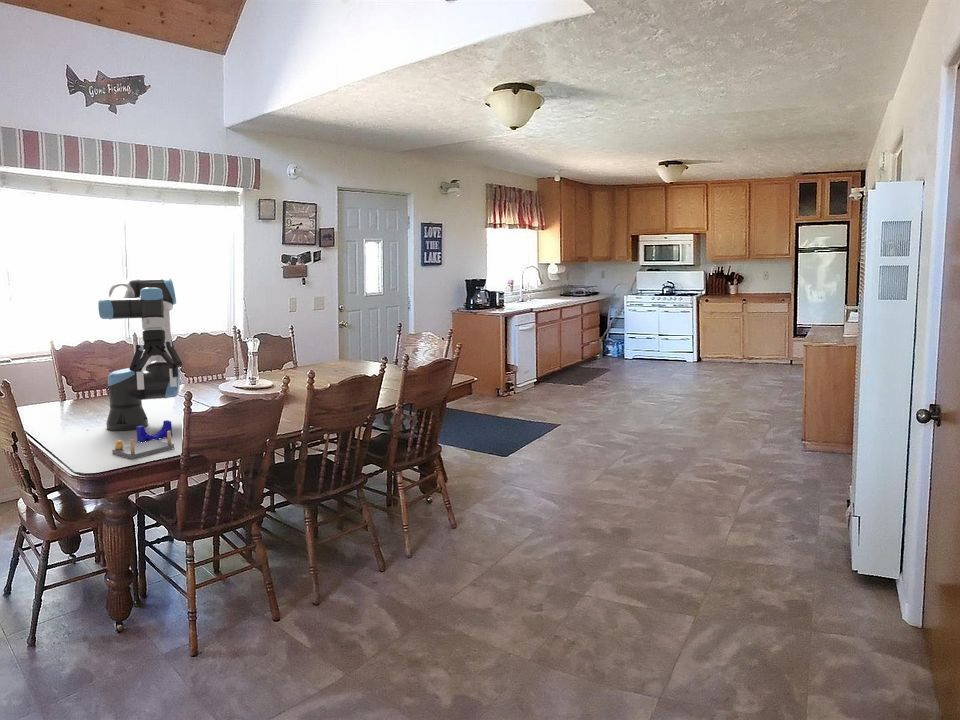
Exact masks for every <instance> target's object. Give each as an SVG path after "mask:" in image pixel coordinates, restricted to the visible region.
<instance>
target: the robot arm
mask: <svg viewBox="0 0 960 720" xmlns="http://www.w3.org/2000/svg"><path fill="white" fill-rule="evenodd" d="M108 297H109V298H107V297H106V298H102V299H99V300H98V306H97V307H98V315H99V317H100V319H102V320H119V319H120V320H121V319H141V328H142V330H143V331H142V333H141V334H142V341H143V344H136V346H135V353H134V354H133V358H132V360H131V363H130V367H127V368H123V369H118V370H114V371H112V372H110V373H109V374H108V375H107V387H108V388H107V389H108V396H109V397H108V399H109V412H108V415H107V420H106V424H105V426H106V429H107V430H109V431H119V432H120V431H131V430H137V428H136V426H144V428H145V427H147V426H148V425H149V419H148V417H147V414H146V411H145V410H144V408H143V403H142V400H157V399H159V400H160V399H165V400H166V399H169V398H176V397H177V396H178V395H179V394H180V386H181V369H180V368H179V367H182V366H183V365H184V364H183V362H182V360H181V358H180V357H179V355H178V352H177V351H176V349H175V347H174V341H172V334H171V317H170V311H172V310H173V309H174V305H176V304H177V298H176V293H175V286H174V282H173V280H172V279H171V278H169V277H162V276H158V277H131V278H130V277H129V278H126V279H123V280H120V281H118V282H115V284H113V285H112V286H111V287H110V289H109V292H108ZM148 361H149V362H148ZM147 362H148V363H147ZM146 364H147V365H146ZM144 367H145V370H143V369H144Z"/></svg>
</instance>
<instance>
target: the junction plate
mask: <svg viewBox="0 0 960 720" xmlns="http://www.w3.org/2000/svg"><path fill="white" fill-rule="evenodd" d="M166 438H167V442H166V441H161V440H155V439H153V440H150V441H146V442H142V443H141V442H138V443H135V442H134V438H133V439H129V445H126V446H123V449H121V450H118V449H115V448H112V449H111V450H112V451H111V452H112V454H113V455H115V454H116V455H117V456H119V455H120V456H119V457H122V456H123V458H126V457H127V459H129V458H131V459H130V460H134V458H135V459H138V457H139V458H143V457H146V456H145V455H147V456H149V454H150V455H154V454H157V452H158V453H162V452H166V451H168V450H169V449H170V450H173V449H172V448H174V449H175V444H174V443H172V436H171V431H167V437H166ZM165 450H166V451H165ZM161 451H162V452H161ZM153 453H154V454H153ZM142 456H143V457H142Z"/></svg>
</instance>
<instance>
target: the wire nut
mask: <svg viewBox="0 0 960 720" xmlns="http://www.w3.org/2000/svg"><path fill="white" fill-rule="evenodd" d="M114 446H115V447H114V449H118V450H121V449H123V447H124V441H123V440H120V439H117V440H116V442H115V445H114Z"/></svg>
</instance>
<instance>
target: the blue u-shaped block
mask: <svg viewBox="0 0 960 720" xmlns="http://www.w3.org/2000/svg"><path fill="white" fill-rule="evenodd" d="M136 428H137V429H136V438H137V439H136V440H137V442H138V441H139V442H138V443H141V442H145V441H150V440H153V439H155V440H158V441H160V439H159V438H161V439H164V438H163V437H166V438H167V431H171V435H172V436H173V428H172V421H171V420H168V419H167V420H163V423H162V427H161V429H160V430H159V431H157V432H156V433H154V434H150V433H148V432H147V431H146V429H145V427H144V426H136Z"/></svg>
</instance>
